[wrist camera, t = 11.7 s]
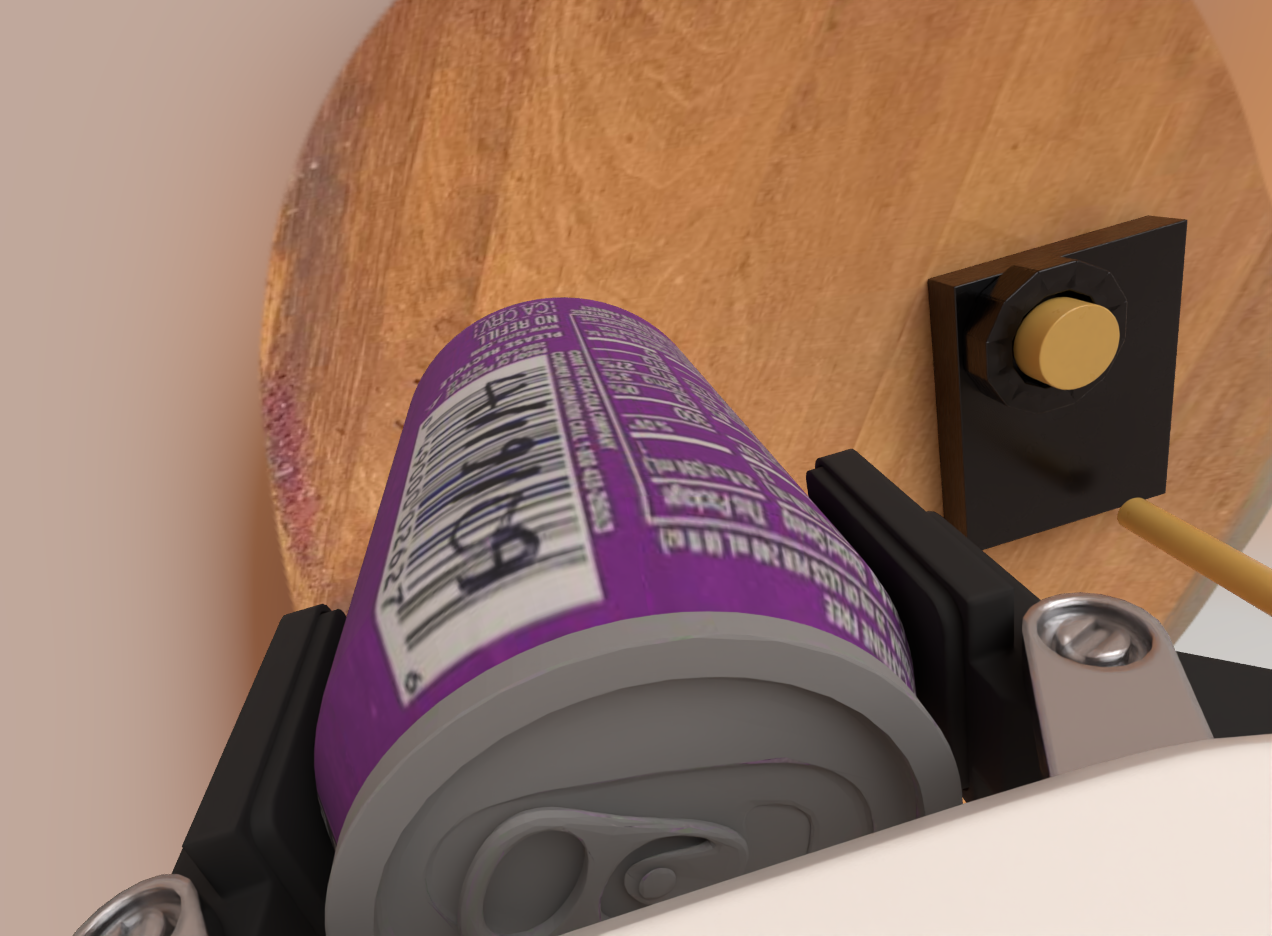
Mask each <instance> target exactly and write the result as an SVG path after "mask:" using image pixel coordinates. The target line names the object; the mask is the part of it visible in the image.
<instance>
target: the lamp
mask: <svg viewBox="0 0 1272 936" xmlns="http://www.w3.org/2000/svg"><path fill="white" fill-rule="evenodd" d="M1117 520H1118V522H1119V524H1120V525H1121V526H1123V527H1125V528H1126V529H1128V530H1130V531H1131V532H1133V533H1135V534H1136V535H1138V536H1139V537H1141V538H1143V539H1144V540H1146V541H1148V542H1149V543H1151V544H1153V545H1154V546H1156V547H1158V548H1159V549H1161V550H1163V551H1164V552H1166V553H1167V554H1169V555H1171V556H1172V557H1174V558H1176V559H1177V560H1179V561H1181V562H1182V563H1184V564H1186V565H1187V566H1189V567H1191V568H1192V569H1194V570H1195V571H1197V572H1199V573H1200V574H1202V575H1204V576H1205V577H1207V578H1209V579H1210V580H1212V581H1214V582H1215V583H1217V584H1219V585H1220V586H1222V587H1224V588H1225V589H1227V590H1228V591H1230V592H1232V593H1233V594H1235V595H1237V596H1239V597H1240V598H1242V599H1243V600H1245V601H1247V602H1248V603H1250V604H1252V605H1253V606H1255V607H1256V608H1258V609H1260V610H1262V611H1263V612H1265V613H1266V614H1268V615H1270V616H1271V617H1272V569H1271V568H1269V567H1267V566H1266V565H1263V564H1262V563H1260V562H1258V561H1256V560H1255V559H1253V558H1251V557H1249V556H1247V555H1245V554H1244V553H1242V552H1240V551H1238V550H1236V549H1234V548H1232V547H1231V546H1229V545H1227V544H1225V543H1223V542H1221V541H1220V540H1218V539H1216V538H1214V537H1212V536H1210V535H1209V534H1207V533H1205V532H1203V531H1201V530H1199V529H1198V528H1196V527H1194V526H1192V525H1190V524H1188V523H1187V522H1185V521H1183V520H1181V519H1179V518H1177V517H1176V516H1174V515H1172V514H1170V513H1168V512H1166V511H1165V510H1163V509H1161V508H1159V507H1157V506H1155V505H1154V504H1152V503H1150V502H1148V501H1146V500H1144V499H1143V498H1133V499H1130V500H1128V501H1127V502H1125V503H1124V504H1123V505H1122V506H1121V508H1120V509H1119V511H1118V515H1117Z"/></svg>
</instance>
